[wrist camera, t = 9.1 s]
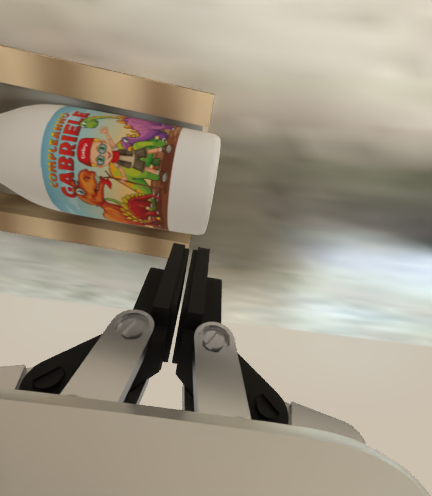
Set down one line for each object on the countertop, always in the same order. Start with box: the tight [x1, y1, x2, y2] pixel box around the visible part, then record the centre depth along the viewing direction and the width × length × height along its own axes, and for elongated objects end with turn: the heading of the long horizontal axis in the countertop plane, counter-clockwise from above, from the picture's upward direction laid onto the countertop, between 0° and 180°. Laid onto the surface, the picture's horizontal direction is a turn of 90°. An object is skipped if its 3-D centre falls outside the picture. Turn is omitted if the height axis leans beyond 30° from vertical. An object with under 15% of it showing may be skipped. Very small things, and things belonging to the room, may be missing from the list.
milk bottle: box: [0, 104, 221, 235], centre depth 19 cm, size 8×8×20 cm
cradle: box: [0, 45, 215, 258], centre depth 22 cm, size 20×14×4 cm
